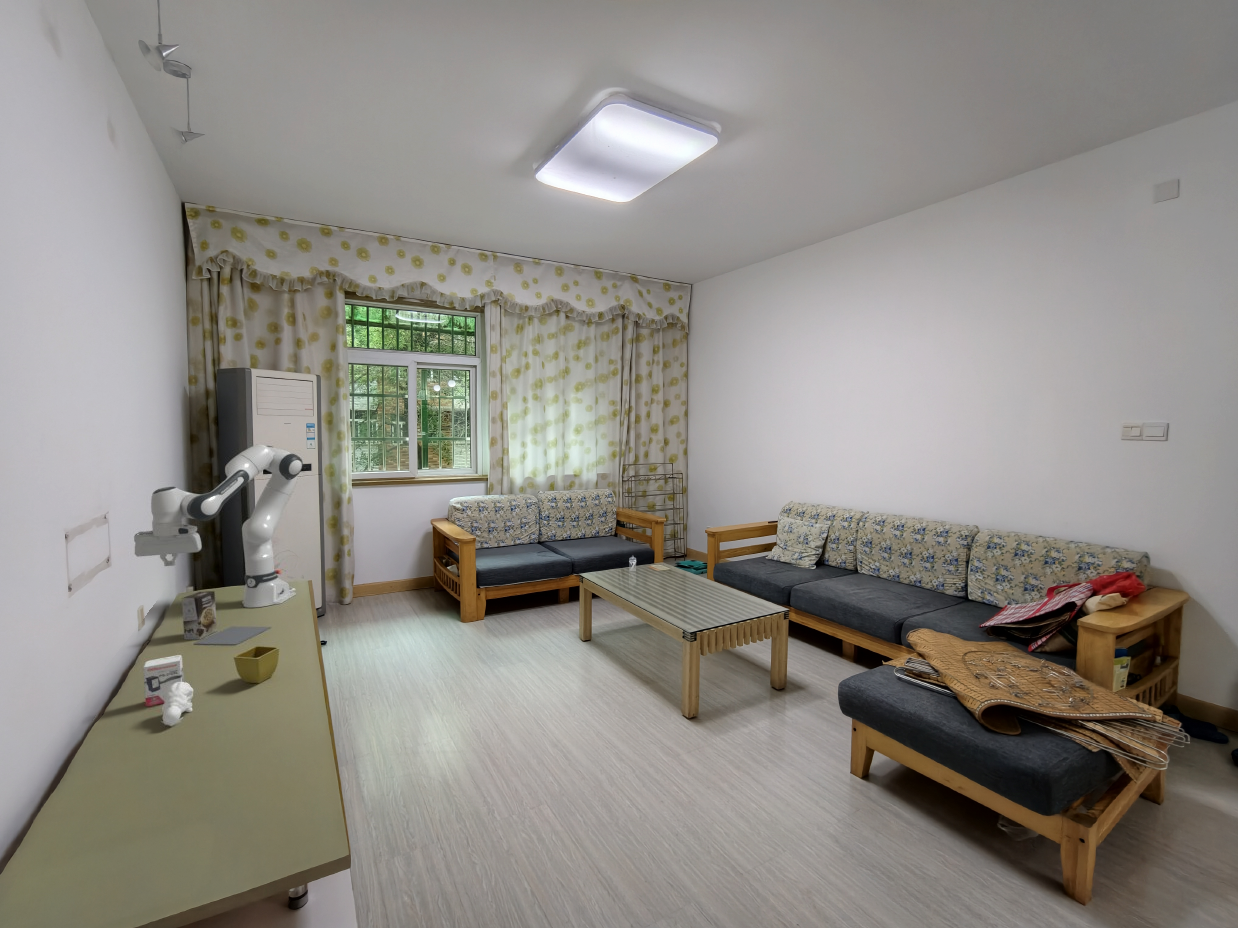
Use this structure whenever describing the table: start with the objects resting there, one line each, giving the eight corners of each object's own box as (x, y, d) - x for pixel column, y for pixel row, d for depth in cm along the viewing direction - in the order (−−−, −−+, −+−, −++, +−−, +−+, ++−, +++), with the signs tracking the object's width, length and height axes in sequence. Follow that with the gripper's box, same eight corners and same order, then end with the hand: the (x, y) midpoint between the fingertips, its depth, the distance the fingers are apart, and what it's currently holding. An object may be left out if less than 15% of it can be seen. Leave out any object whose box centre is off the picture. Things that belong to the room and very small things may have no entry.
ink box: (145, 707, 160) (142, 666, 159) (147, 700, 164) (144, 660, 163) (183, 698, 164) (180, 659, 164) (184, 692, 168) (182, 653, 168)
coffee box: (200, 639, 212) (197, 597, 212) (183, 639, 213) (180, 597, 212) (218, 631, 222) (215, 590, 221) (201, 631, 222) (199, 590, 221)
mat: (231, 627, 226) (231, 626, 226) (271, 627, 224) (270, 626, 224) (193, 644, 208) (193, 643, 208) (235, 645, 206) (235, 644, 206)
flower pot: (258, 687, 171) (257, 658, 170) (234, 685, 173) (232, 656, 172) (281, 674, 180) (280, 647, 179) (258, 672, 181) (256, 645, 181)
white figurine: (193, 676, 159) (182, 698, 148) (196, 704, 160) (185, 728, 149) (165, 681, 156) (152, 704, 145) (168, 710, 157) (155, 734, 147)
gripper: (130, 533, 209) (132, 570, 210) (196, 529, 216) (198, 564, 217) (137, 530, 215) (139, 566, 216) (201, 526, 222) (203, 561, 223)
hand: (169, 565), depth 217 cm, fingers closed
